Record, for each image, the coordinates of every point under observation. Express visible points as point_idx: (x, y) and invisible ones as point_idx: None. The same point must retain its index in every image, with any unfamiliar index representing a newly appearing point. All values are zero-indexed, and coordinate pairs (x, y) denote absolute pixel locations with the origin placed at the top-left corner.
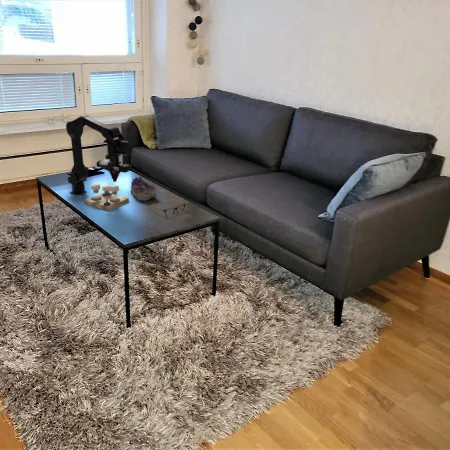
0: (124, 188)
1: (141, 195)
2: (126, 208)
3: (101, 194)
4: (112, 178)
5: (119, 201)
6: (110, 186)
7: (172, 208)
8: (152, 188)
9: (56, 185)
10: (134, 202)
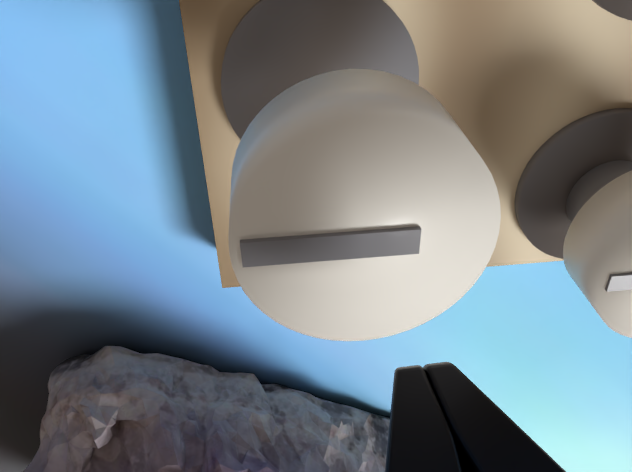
0: (545, 451)
1: (81, 413)
2: (5, 32)
3: None
4: (526, 454)
5: (214, 96)
6: (464, 176)
7: None
8: None
9: None
10: (143, 275)
